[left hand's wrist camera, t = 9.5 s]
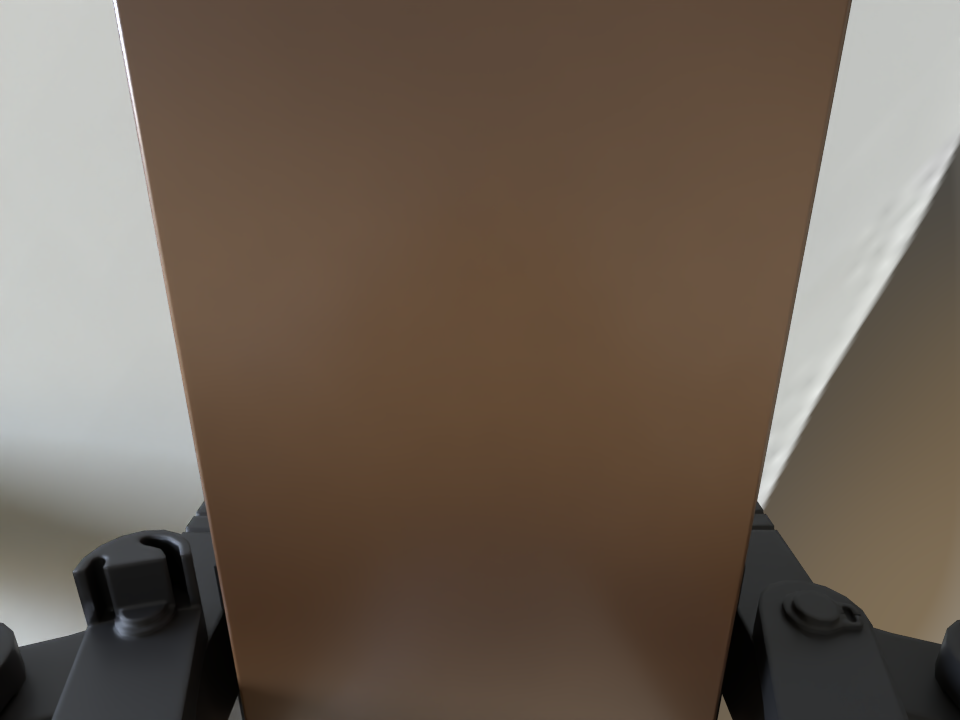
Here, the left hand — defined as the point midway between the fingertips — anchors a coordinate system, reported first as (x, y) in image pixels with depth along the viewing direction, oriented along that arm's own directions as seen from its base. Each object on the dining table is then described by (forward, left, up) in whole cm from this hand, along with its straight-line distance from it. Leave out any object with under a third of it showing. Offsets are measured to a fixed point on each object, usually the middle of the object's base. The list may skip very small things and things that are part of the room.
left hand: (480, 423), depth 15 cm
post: (+25, +18, -1) cm, 31 cm away
